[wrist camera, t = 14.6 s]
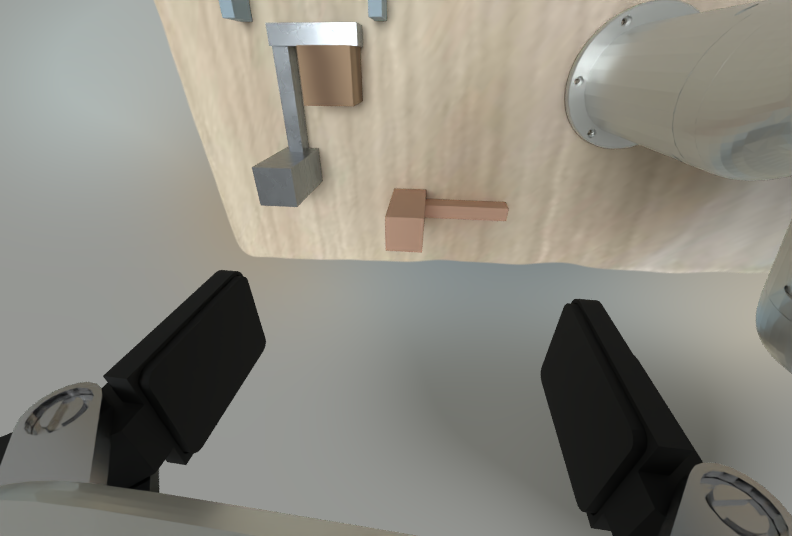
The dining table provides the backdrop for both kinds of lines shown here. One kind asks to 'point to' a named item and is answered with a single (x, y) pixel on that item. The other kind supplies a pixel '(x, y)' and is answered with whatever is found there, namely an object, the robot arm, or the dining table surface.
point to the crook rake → (296, 112)
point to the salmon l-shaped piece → (430, 216)
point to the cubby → (238, 9)
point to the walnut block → (330, 74)
